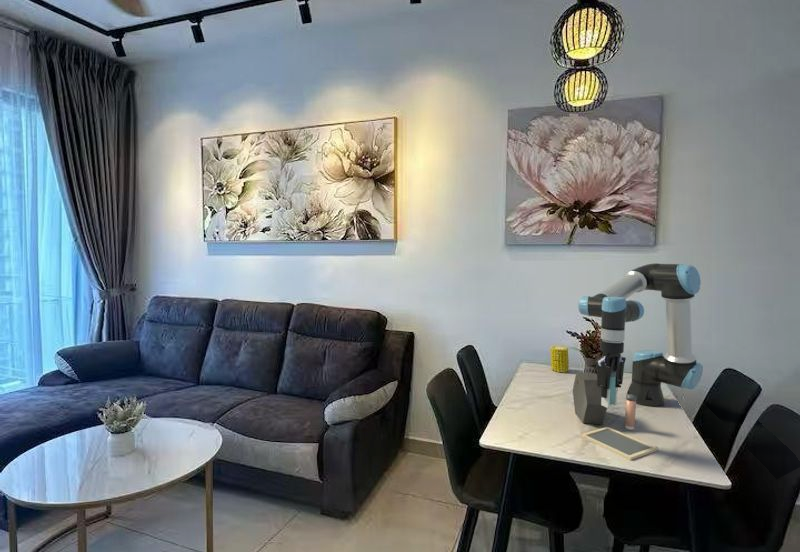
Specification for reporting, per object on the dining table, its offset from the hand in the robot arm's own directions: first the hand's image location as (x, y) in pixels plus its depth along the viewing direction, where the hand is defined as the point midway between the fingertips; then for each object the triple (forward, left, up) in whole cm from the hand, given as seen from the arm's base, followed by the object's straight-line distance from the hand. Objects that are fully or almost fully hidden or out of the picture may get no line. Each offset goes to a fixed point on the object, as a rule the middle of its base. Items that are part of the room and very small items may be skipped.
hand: (608, 405), depth 151 cm
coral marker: (-19, -4, -14) cm, 24 cm away
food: (-57, -71, -14) cm, 92 cm away
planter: (-13, -18, -14) cm, 26 cm away
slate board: (-3, +2, -14) cm, 14 cm away
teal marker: (0, 0, -1) cm, 1 cm away
